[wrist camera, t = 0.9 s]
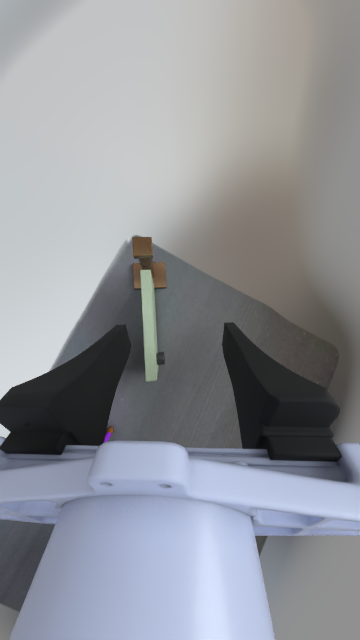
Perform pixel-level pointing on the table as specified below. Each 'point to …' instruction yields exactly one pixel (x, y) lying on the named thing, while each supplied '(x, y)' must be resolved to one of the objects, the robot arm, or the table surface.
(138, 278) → the wooden stand
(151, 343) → the door
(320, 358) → the table surface
